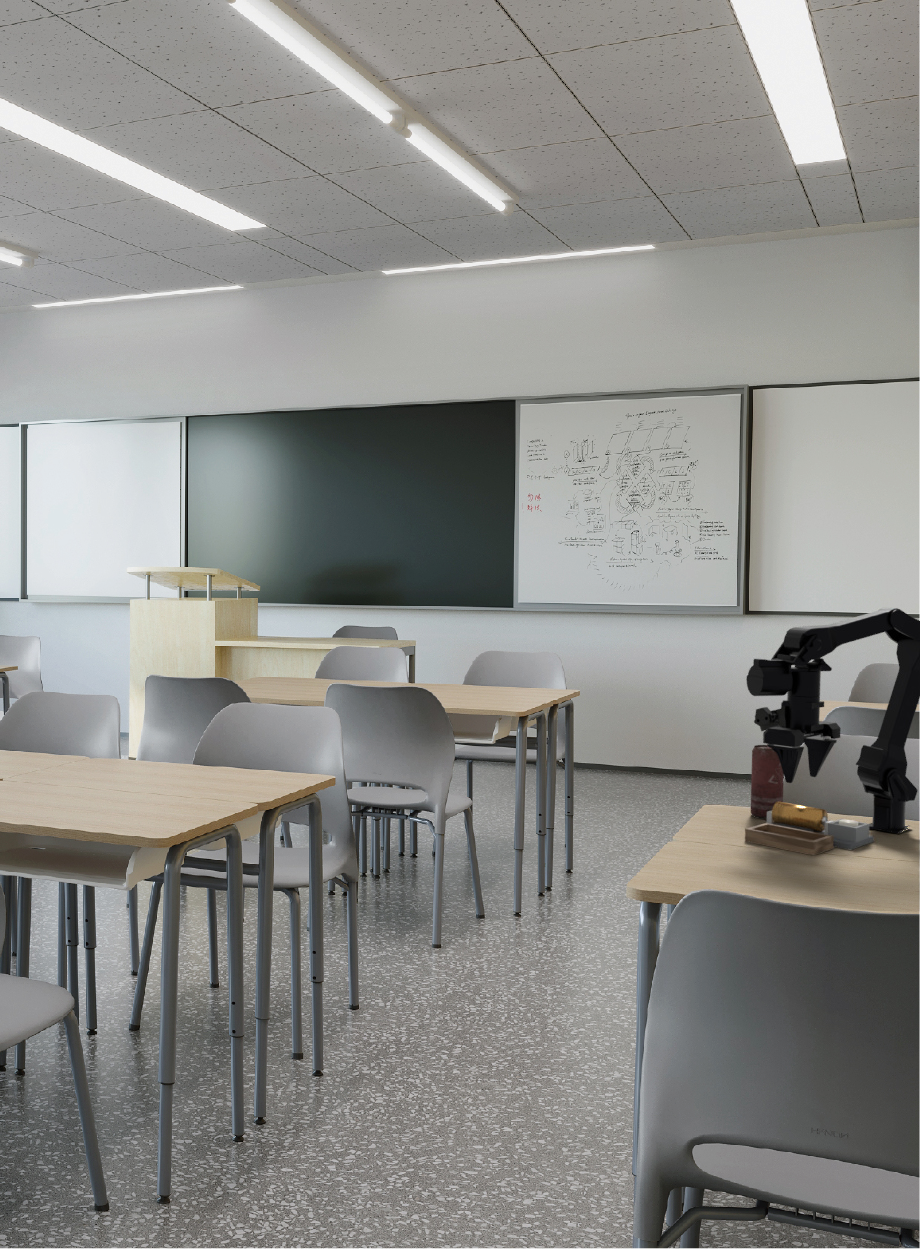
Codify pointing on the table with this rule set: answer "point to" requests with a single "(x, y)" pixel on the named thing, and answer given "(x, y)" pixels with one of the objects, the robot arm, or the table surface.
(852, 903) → the table surface
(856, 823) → the bulb
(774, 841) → the trough
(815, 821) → the cell
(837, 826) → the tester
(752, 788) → the can
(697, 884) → the table surface
